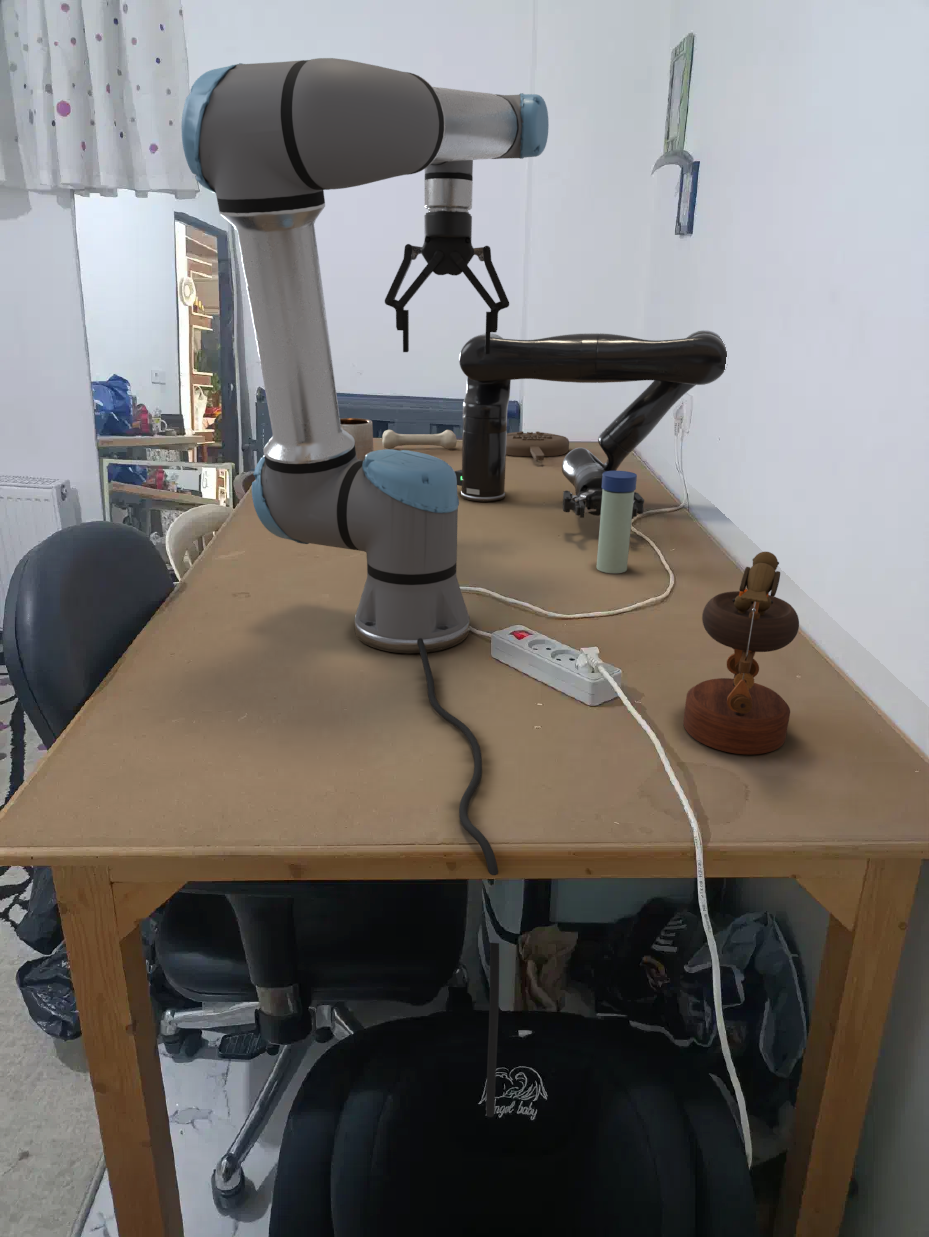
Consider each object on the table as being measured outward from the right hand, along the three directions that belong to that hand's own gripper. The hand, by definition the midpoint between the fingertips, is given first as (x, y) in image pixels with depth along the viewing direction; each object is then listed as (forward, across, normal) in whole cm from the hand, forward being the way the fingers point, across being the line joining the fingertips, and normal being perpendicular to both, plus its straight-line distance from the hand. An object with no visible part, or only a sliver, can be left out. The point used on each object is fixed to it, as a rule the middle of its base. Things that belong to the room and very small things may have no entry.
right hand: (607, 513), depth 146 cm
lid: (+10, 0, -9) cm, 14 cm away
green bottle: (+10, 0, +7) cm, 12 cm away
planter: (-70, -55, +7) cm, 89 cm away
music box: (+62, +6, +7) cm, 63 cm away
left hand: (-5, -28, -26) cm, 38 cm away
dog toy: (-87, -39, +7) cm, 95 cm away
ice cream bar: (-81, -8, +7) cm, 82 cm away
